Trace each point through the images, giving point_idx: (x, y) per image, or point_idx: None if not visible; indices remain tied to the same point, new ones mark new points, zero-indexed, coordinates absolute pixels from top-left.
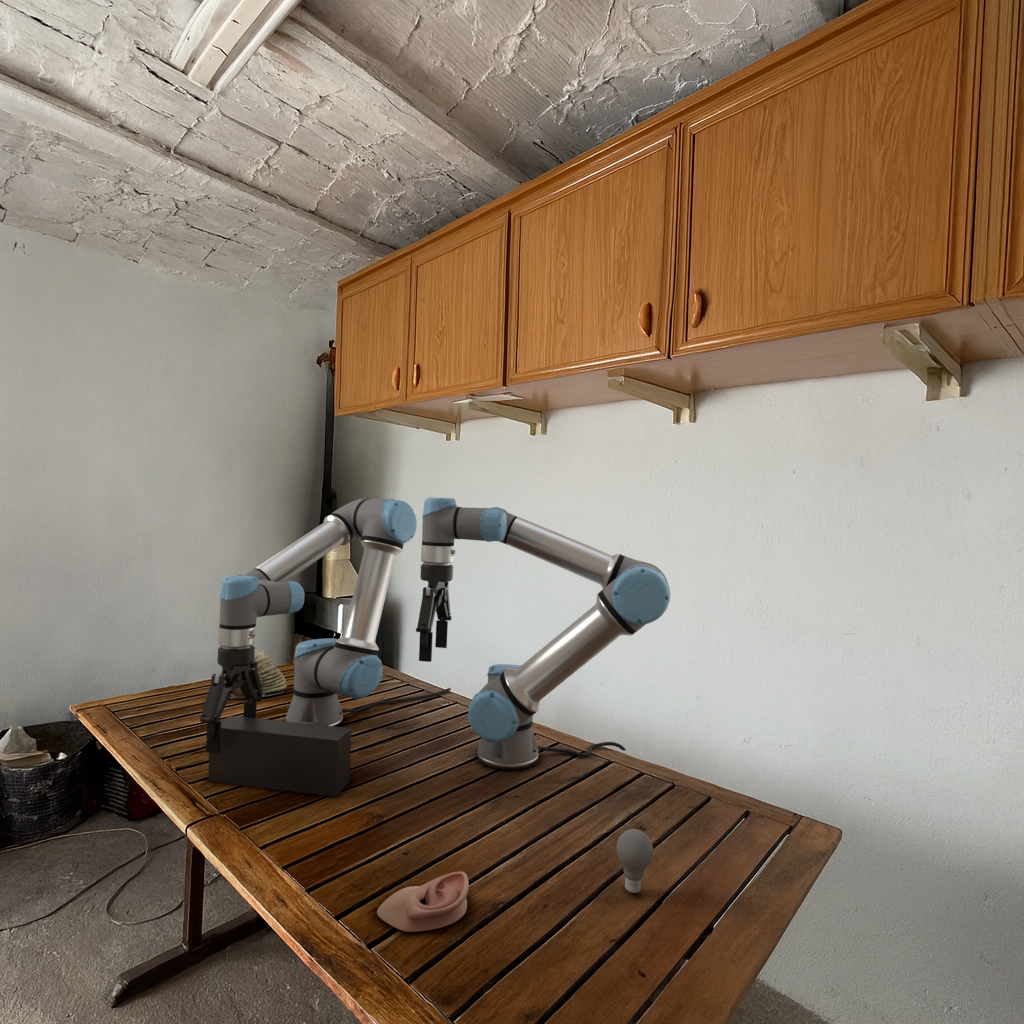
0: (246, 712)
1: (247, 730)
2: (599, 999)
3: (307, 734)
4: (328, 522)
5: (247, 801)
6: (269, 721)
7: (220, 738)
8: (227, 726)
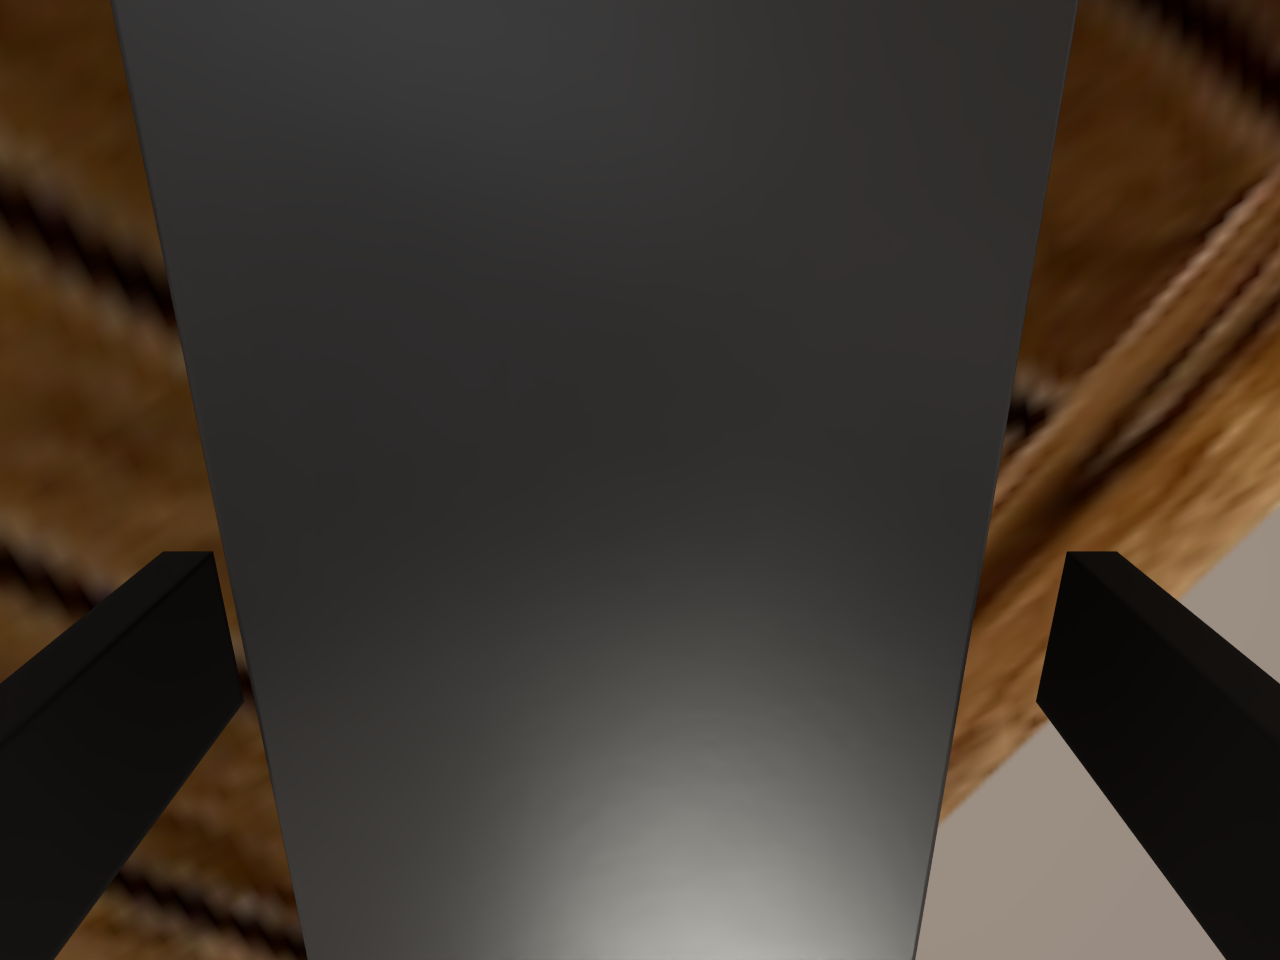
0: (58, 882)
1: (1013, 318)
2: None
3: None
4: None
5: (1085, 5)
6: (264, 119)
7: (1186, 662)
8: (842, 804)
